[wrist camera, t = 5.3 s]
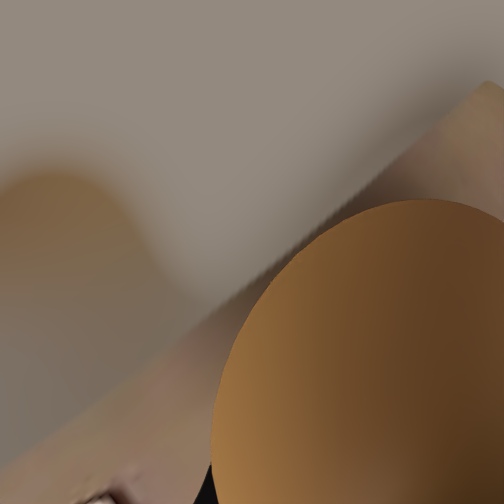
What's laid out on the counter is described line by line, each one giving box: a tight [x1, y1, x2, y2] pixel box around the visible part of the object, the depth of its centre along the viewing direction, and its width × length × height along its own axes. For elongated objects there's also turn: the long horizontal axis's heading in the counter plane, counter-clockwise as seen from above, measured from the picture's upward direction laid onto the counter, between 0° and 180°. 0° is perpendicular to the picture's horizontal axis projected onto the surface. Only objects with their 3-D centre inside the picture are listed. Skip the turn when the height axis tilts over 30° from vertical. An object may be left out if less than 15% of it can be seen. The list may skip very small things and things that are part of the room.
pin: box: [211, 199, 504, 504], centre depth 8 cm, size 5×5×13 cm
